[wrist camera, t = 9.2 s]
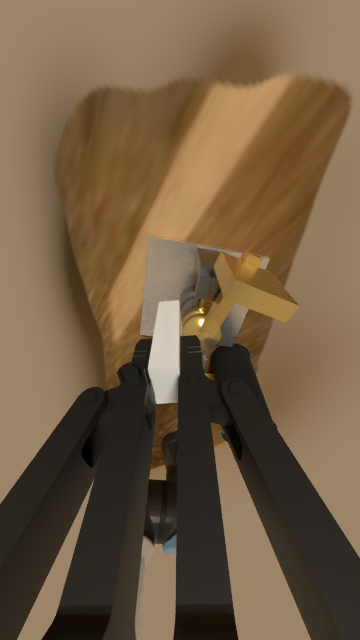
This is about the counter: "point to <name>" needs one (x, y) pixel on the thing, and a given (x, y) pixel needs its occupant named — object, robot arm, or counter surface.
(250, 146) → the counter surface
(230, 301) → the gold branched bar piece
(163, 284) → the socket base
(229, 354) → the aerosol can
